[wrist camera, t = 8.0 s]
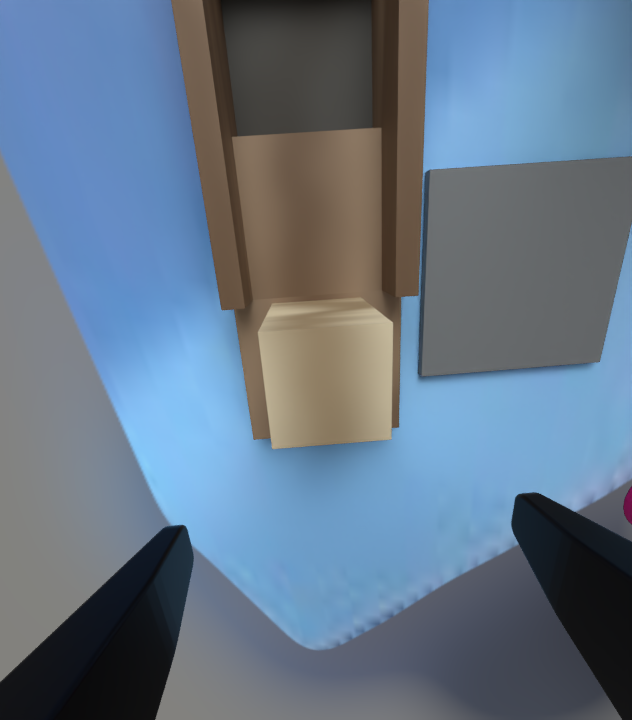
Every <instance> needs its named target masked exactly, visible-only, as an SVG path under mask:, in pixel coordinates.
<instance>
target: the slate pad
mask: <svg viewBox="0 0 632 720" xmlns="http://www.w3.org/2000/svg"><path fill="white" fill-rule="evenodd" d="M631 223H632V156H631V157H616V158H601V159H585V160H570V161H555V162H540V163H525V164H510V165H495V166H480V167H465V168H450V169H434V170H429V171H427V172H426V176H425V203H424V229H423V256H422V283H421V310H420V337H419V364H418V373H419V374H420V375H421V376H434V375H447V374H459V373H471V372H484V371H496V370H508V369H520V368H533V367H545V366H557V365H570V364H582V363H594V362H600V358H601V354H602V350H603V345H604V341H605V337H606V332H607V328H608V324H609V319H610V315H611V310H612V306H613V302H614V297H615V293H616V289H617V284H618V280H619V276H620V271H621V267H622V262H623V258H624V254H625V249H626V245H627V241H628V236H629V232H630V228H631Z"/></svg>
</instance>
